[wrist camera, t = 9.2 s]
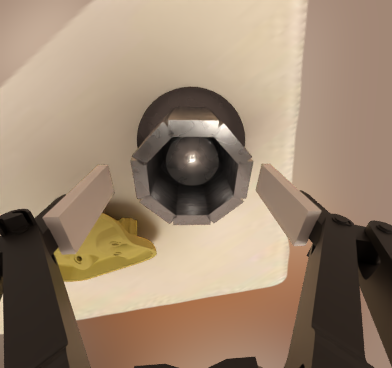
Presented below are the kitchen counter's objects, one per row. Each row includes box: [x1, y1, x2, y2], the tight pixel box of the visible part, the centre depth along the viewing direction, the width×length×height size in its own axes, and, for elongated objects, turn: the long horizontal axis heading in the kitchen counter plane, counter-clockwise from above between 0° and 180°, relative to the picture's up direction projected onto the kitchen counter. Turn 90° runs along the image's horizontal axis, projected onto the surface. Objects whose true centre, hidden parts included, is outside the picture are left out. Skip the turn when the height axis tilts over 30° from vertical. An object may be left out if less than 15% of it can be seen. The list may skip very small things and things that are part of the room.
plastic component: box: [54, 213, 157, 282], centre depth 29 cm, size 20×7×10 cm
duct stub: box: [137, 87, 245, 185], centre depth 21 cm, size 14×14×6 cm
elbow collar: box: [131, 107, 253, 225], centre depth 19 cm, size 10×10×9 cm
